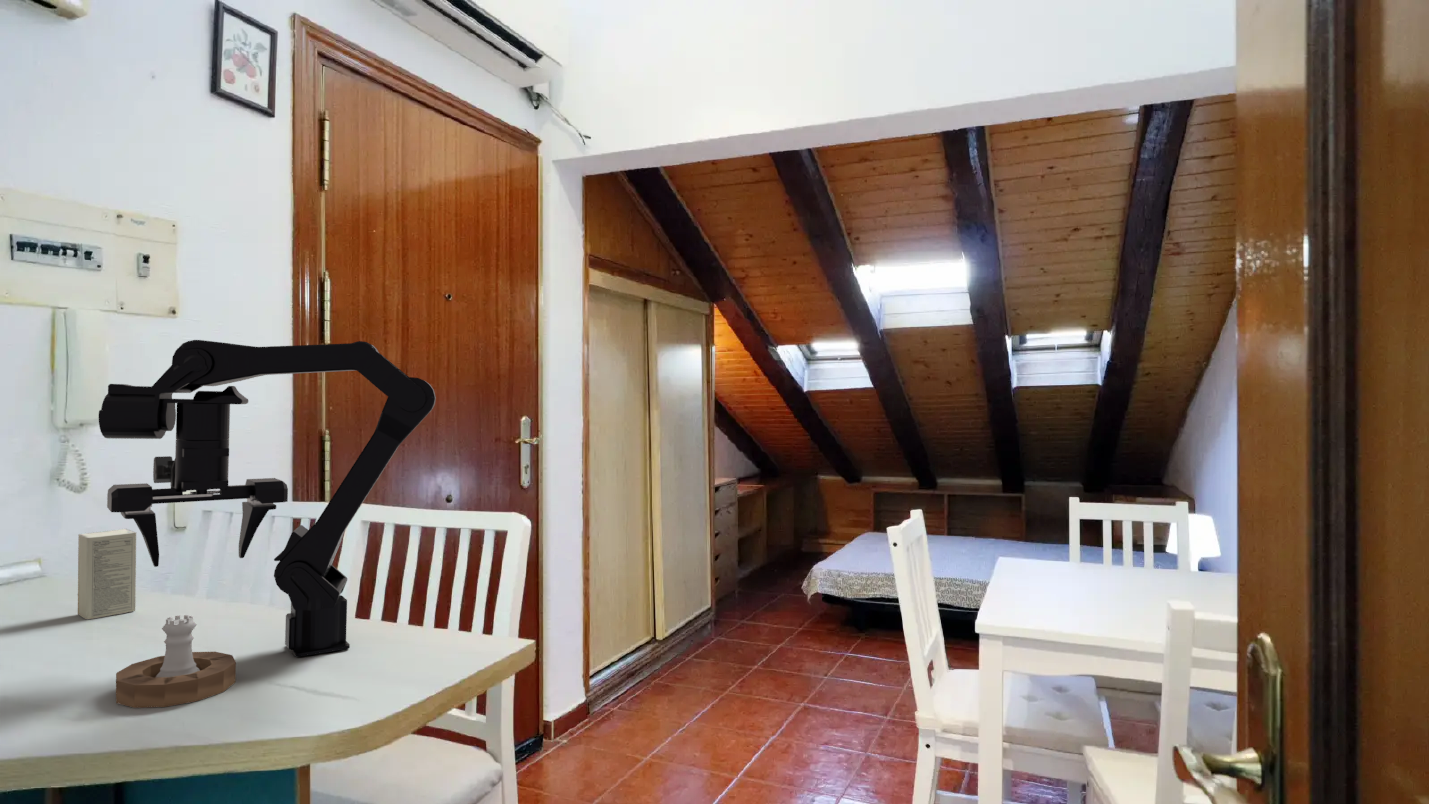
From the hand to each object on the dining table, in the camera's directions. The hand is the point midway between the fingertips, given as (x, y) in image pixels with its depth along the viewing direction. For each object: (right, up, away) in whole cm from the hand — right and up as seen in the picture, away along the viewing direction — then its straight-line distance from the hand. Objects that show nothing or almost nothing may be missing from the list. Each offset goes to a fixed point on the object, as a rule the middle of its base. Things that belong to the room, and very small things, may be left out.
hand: (199, 561), depth 100 cm
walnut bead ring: (+5, -12, -11) cm, 17 cm away
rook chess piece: (+5, -12, -11) cm, 17 cm away
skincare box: (-25, -12, +17) cm, 33 cm away
